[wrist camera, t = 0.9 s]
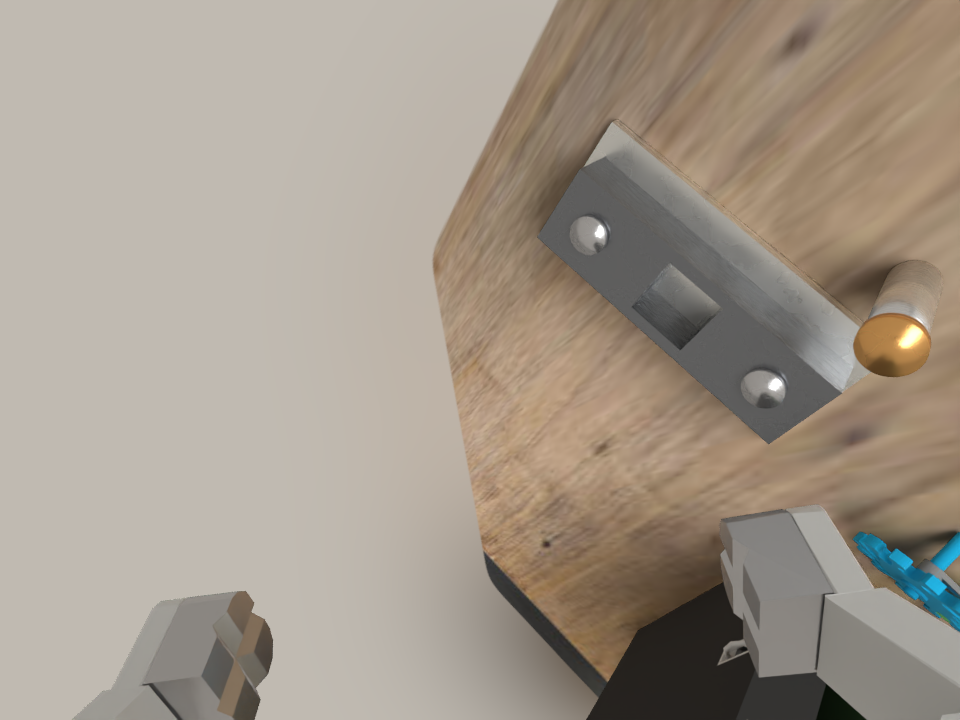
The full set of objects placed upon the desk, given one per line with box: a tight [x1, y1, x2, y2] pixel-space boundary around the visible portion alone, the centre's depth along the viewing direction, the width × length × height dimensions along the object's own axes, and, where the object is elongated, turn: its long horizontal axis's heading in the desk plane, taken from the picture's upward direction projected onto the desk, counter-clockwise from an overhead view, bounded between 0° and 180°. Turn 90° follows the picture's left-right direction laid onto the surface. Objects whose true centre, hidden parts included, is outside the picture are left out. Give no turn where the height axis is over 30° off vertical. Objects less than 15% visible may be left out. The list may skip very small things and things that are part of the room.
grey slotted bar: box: [538, 119, 871, 444], centre depth 50 cm, size 26×12×6 cm, turn 61°
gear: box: [853, 532, 960, 632], centre depth 48 cm, size 11×6×10 cm
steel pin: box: [853, 260, 943, 377], centre depth 39 cm, size 4×4×10 cm
